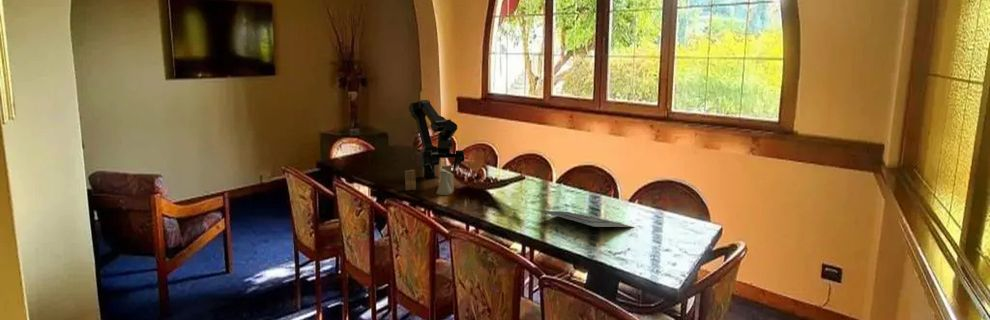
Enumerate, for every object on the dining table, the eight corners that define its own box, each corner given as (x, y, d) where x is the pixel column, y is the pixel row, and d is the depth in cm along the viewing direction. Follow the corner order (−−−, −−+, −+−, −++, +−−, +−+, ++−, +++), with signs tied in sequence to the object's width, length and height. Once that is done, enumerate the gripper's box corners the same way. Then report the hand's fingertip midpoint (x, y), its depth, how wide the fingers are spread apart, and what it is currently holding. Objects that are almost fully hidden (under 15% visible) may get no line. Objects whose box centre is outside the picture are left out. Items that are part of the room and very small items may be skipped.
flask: (433, 195, 277) (432, 173, 274) (440, 190, 283) (440, 169, 281) (448, 196, 274) (447, 174, 272) (455, 192, 281) (454, 170, 278)
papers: (574, 218, 254) (575, 209, 254) (634, 234, 232) (635, 224, 232) (532, 217, 238) (534, 208, 238) (593, 234, 216) (595, 224, 216)
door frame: (405, 189, 286) (404, 170, 284) (450, 183, 296) (450, 164, 294) (406, 190, 284) (406, 171, 282) (452, 184, 294) (452, 165, 292)
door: (438, 185, 291) (437, 169, 289) (443, 184, 292) (442, 168, 291) (448, 191, 281) (447, 174, 279) (453, 190, 282) (453, 174, 280)
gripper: (422, 133, 279) (421, 162, 271) (463, 133, 280) (463, 162, 272) (424, 146, 289) (423, 175, 281) (464, 146, 289) (464, 175, 281)
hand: (443, 172), depth 278 cm, fingers open, 9 cm apart
